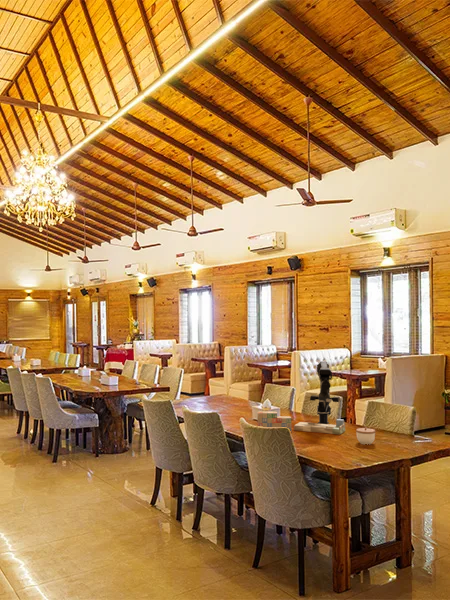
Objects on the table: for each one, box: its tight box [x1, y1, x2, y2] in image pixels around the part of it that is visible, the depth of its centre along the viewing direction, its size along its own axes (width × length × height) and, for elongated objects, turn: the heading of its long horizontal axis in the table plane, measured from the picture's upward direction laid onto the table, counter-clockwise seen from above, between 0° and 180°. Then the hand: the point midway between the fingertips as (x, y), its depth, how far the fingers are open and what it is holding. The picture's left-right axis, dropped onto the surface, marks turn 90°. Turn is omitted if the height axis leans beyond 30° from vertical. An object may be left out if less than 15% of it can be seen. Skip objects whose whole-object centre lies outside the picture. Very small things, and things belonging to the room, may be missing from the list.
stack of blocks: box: [257, 411, 292, 432], centre depth 354 cm, size 21×6×12 cm, turn 86°
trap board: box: [293, 421, 346, 435], centre depth 358 cm, size 13×30×4 cm, turn 65°
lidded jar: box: [355, 426, 376, 446], centre depth 321 cm, size 11×11×9 cm
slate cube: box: [335, 418, 345, 427], centre depth 357 cm, size 4×4×4 cm
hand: (325, 411), depth 362 cm, fingers closed
